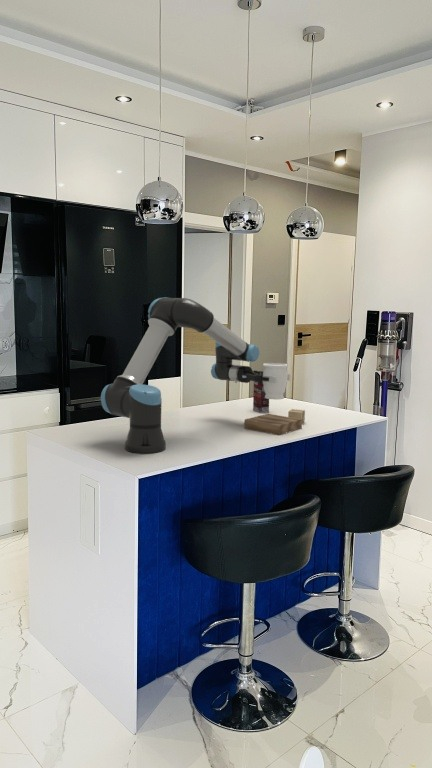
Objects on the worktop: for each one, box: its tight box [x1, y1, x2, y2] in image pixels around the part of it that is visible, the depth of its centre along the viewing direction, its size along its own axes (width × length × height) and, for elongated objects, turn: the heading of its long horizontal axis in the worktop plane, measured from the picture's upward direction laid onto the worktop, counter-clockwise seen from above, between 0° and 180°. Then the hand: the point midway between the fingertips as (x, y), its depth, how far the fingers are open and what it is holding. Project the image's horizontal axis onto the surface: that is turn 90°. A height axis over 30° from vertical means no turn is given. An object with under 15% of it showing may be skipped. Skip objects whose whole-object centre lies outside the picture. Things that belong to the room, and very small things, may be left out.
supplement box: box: [252, 381, 270, 414], centre depth 300 cm, size 9×5×16 cm, turn 25°
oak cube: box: [287, 408, 306, 425], centre depth 274 cm, size 6×6×6 cm
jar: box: [262, 362, 288, 400], centre depth 261 cm, size 11×10×15 cm
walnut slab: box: [243, 413, 303, 436], centre depth 263 cm, size 18×18×4 cm
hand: (283, 378), depth 258 cm, fingers closed on jar, 10 cm apart
